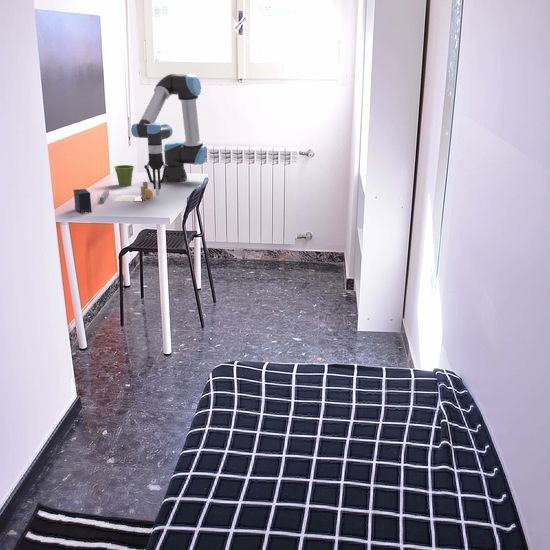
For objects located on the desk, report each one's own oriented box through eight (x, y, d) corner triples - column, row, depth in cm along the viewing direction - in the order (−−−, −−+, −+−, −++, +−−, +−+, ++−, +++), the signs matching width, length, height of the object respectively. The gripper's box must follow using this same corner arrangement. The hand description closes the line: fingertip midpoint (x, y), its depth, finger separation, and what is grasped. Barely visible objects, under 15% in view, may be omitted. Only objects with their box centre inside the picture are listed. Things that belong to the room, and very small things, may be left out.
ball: (153, 189, 372) (151, 198, 373) (144, 186, 371) (141, 196, 372) (153, 191, 367) (151, 200, 368) (143, 188, 366) (141, 198, 367)
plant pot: (137, 186, 399) (135, 167, 395) (117, 187, 395) (115, 169, 391) (133, 182, 409) (132, 164, 405) (113, 183, 405) (112, 165, 401)
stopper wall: (105, 194, 378) (105, 189, 377) (109, 194, 378) (108, 189, 377) (100, 203, 359) (99, 197, 358) (103, 203, 359) (103, 197, 358)
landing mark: (119, 195, 376) (119, 195, 376) (144, 195, 377) (144, 195, 377) (115, 201, 363) (115, 201, 363) (141, 201, 364) (141, 201, 364)
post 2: (141, 200, 366) (140, 186, 363) (146, 200, 366) (145, 186, 363) (141, 201, 364) (140, 187, 361) (145, 201, 364) (145, 187, 361)
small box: (92, 212, 342) (90, 192, 338) (79, 213, 339) (77, 193, 335) (87, 207, 351) (85, 188, 347) (74, 209, 348) (72, 189, 344)
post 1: (144, 195, 377) (143, 181, 375) (148, 195, 378) (147, 181, 375) (143, 196, 375) (142, 182, 372) (147, 196, 375) (147, 182, 373)
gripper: (142, 153, 358) (145, 196, 366) (167, 153, 359) (169, 196, 368) (143, 151, 365) (146, 193, 373) (167, 151, 366) (169, 193, 375)
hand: (157, 195), depth 370 cm, fingers closed
